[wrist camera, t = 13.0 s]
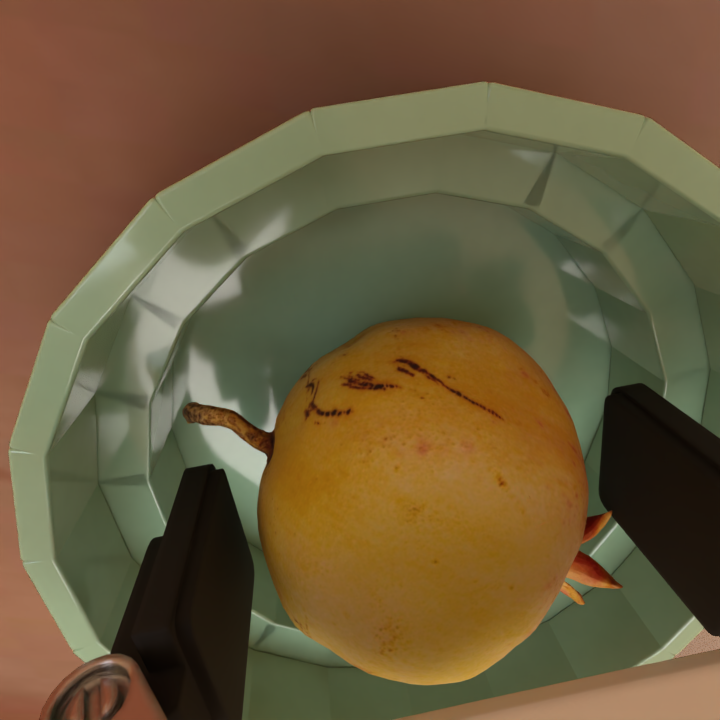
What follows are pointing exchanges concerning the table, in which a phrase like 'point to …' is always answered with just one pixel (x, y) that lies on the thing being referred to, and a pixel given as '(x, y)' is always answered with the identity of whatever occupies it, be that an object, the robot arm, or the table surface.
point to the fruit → (422, 499)
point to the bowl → (346, 320)
